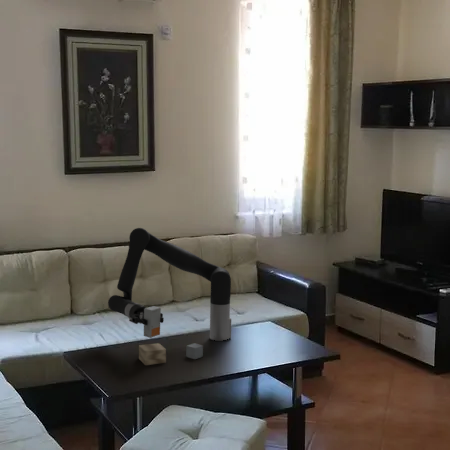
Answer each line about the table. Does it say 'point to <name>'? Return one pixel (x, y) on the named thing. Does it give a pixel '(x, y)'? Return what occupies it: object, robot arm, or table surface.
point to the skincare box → (152, 321)
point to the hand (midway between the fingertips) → (154, 321)
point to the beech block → (152, 354)
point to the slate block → (194, 351)
